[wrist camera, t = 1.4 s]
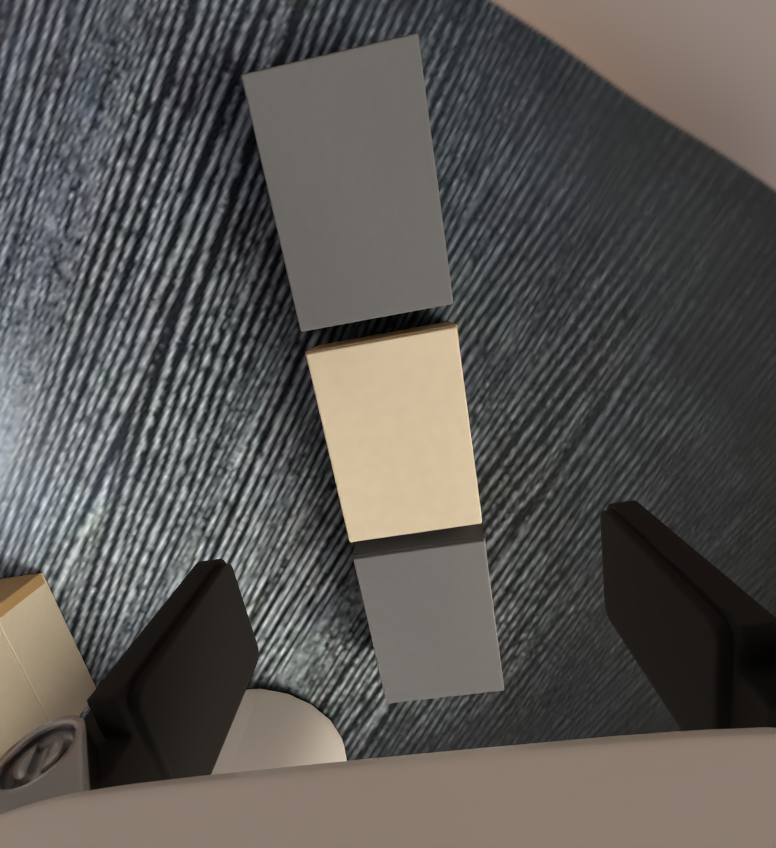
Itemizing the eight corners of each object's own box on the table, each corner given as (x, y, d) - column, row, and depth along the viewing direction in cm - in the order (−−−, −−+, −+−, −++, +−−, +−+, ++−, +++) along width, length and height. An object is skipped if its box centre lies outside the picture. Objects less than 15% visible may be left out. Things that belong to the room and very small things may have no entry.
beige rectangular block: (-57, 585, 28) (-120, 624, 24) (42, 571, 27) (-8, 608, 24) (8, 702, 30) (-41, 752, 27) (99, 691, 30) (60, 741, 26)
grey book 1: (266, 111, 20) (238, 71, 16) (415, 77, 19) (419, 28, 16) (314, 328, 22) (299, 332, 19) (446, 303, 22) (454, 303, 18)
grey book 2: (358, 524, 26) (351, 557, 22) (474, 507, 25) (485, 539, 22) (387, 656, 28) (385, 704, 25) (492, 643, 28) (505, 690, 24)
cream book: (318, 344, 23) (303, 352, 19) (448, 321, 22) (457, 323, 19) (355, 511, 25) (348, 543, 22) (472, 493, 25) (483, 523, 21)
